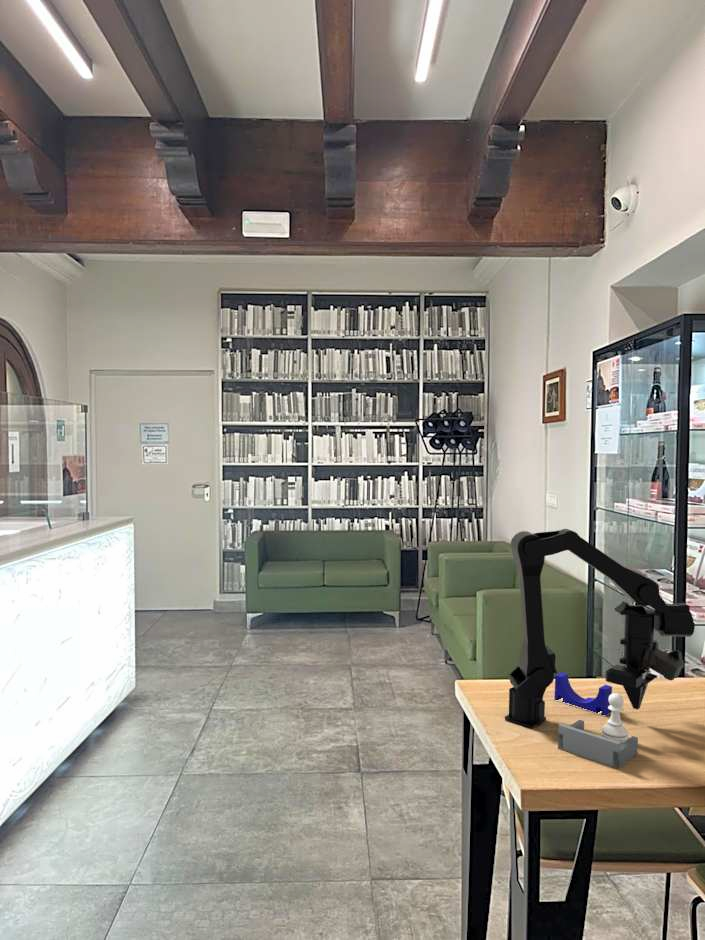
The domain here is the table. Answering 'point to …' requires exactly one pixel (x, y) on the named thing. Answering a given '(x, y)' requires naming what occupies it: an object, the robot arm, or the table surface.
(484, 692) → the table surface
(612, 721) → the chess pawn
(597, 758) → the box
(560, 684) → the blue concave cradle
